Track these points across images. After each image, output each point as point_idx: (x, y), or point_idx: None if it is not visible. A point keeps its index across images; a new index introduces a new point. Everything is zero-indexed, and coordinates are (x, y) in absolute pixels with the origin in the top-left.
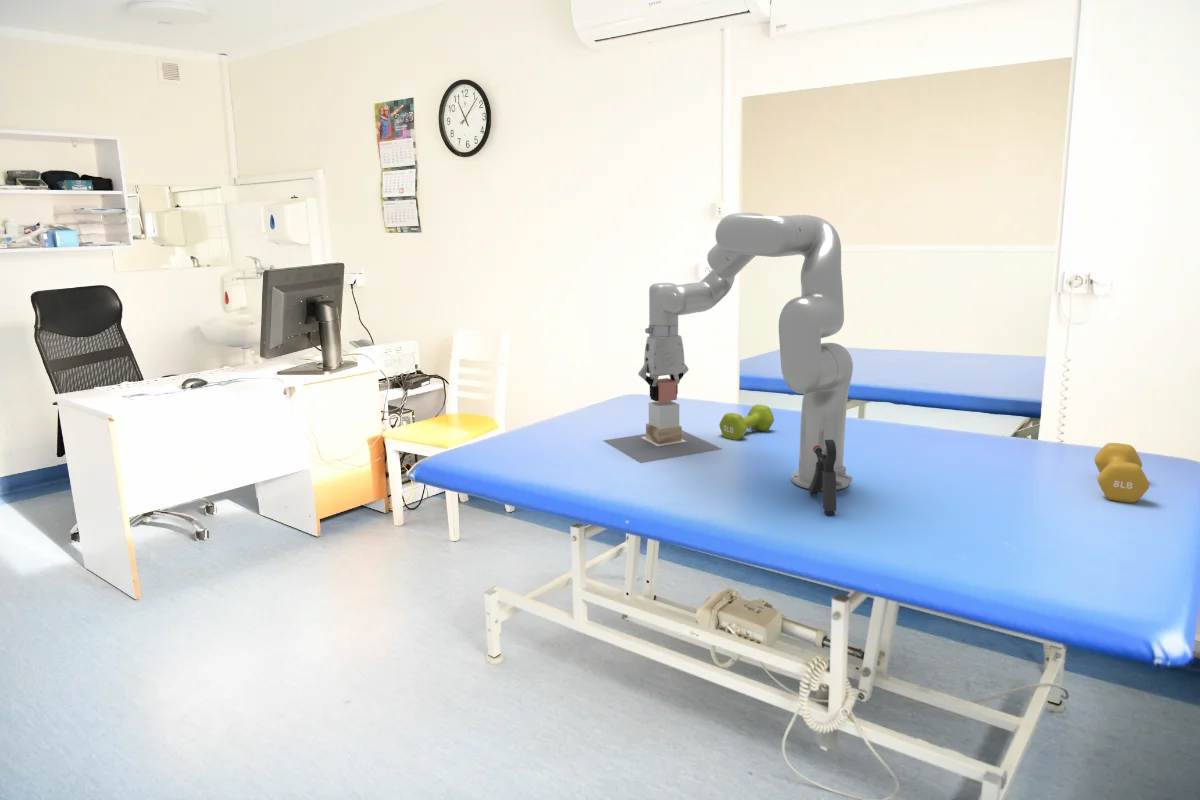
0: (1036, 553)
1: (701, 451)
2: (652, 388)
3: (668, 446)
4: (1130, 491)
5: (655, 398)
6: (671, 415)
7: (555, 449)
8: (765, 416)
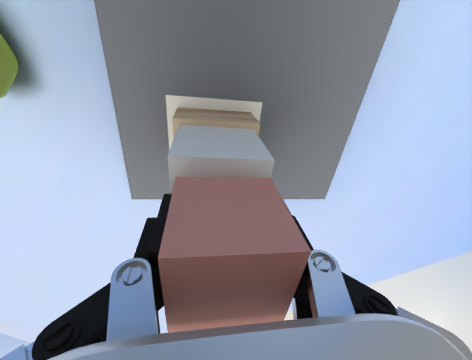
0: None
1: None
2: (311, 249)
3: (239, 80)
4: None
5: None
6: (210, 140)
7: (409, 196)
8: None
